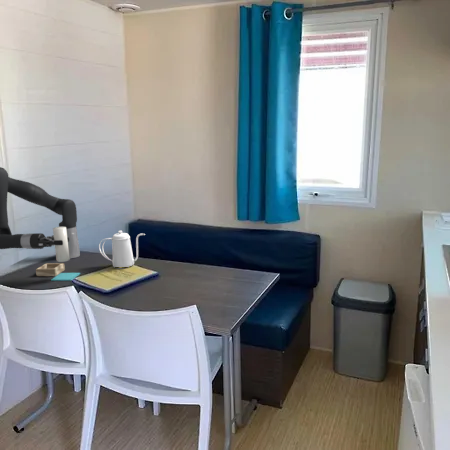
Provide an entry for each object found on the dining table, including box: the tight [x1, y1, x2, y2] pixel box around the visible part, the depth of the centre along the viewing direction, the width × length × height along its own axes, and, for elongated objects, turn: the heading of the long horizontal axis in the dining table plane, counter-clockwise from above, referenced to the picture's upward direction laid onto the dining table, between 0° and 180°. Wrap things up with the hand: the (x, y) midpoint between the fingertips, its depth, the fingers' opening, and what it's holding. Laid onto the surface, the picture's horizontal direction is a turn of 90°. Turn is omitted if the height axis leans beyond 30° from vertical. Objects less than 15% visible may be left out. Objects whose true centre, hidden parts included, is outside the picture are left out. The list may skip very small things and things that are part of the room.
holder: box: [35, 262, 66, 277], centre depth 230 cm, size 10×10×4 cm
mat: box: [51, 272, 81, 282], centre depth 222 cm, size 10×10×1 cm
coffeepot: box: [98, 230, 146, 268], centre depth 234 cm, size 11×25×19 cm, turn 84°
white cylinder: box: [52, 226, 71, 263], centre depth 218 cm, size 6×6×16 cm
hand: (65, 241), depth 217 cm, fingers closed on white cylinder, 6 cm apart
